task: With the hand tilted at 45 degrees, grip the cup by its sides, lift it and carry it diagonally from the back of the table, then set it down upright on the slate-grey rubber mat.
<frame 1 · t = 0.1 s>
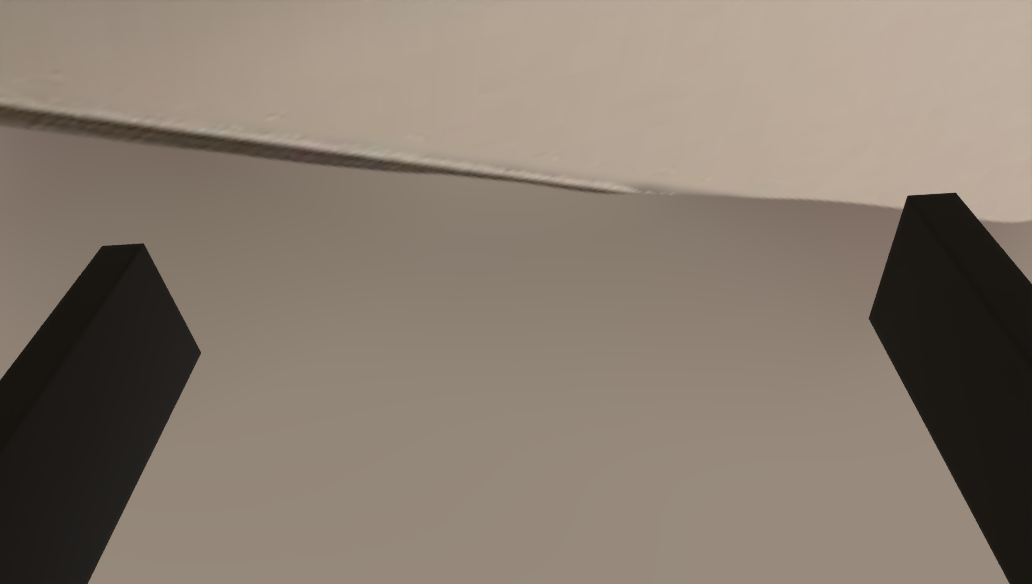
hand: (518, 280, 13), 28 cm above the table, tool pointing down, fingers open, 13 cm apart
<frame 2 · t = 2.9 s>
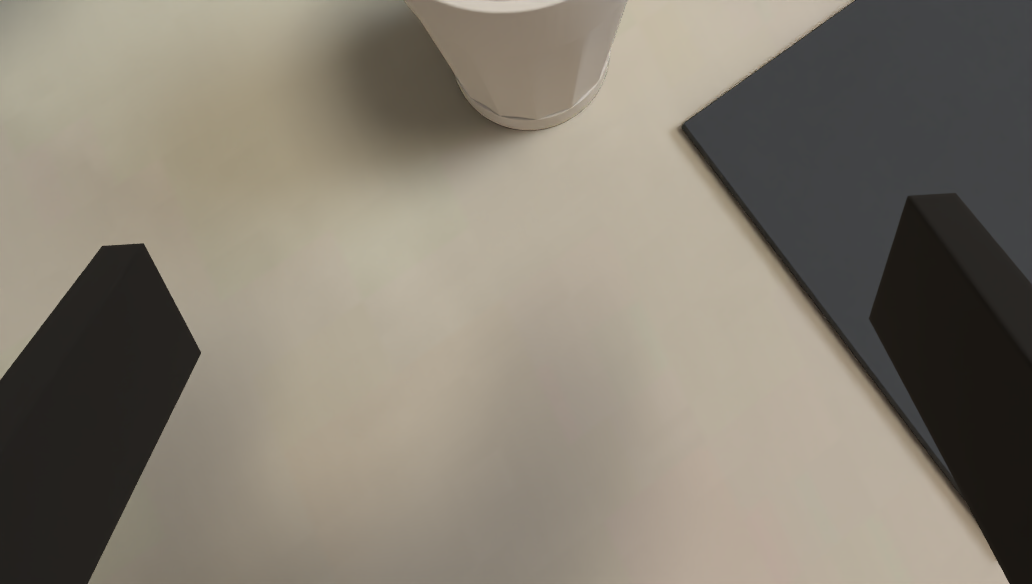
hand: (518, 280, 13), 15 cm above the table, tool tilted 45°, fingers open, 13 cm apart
mat: (1012, 212, 27), on the table
cup: (530, 54, 29), on the table
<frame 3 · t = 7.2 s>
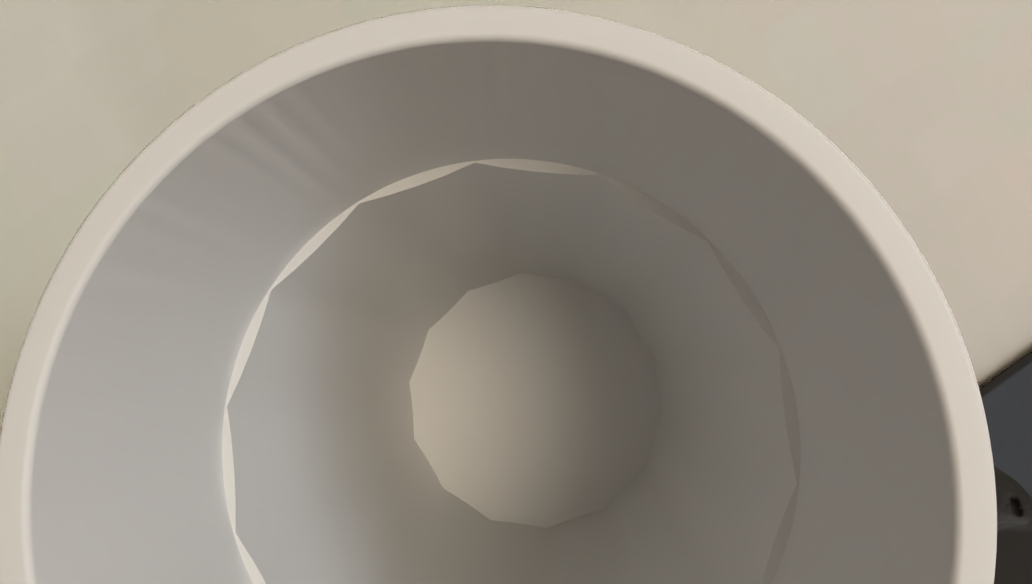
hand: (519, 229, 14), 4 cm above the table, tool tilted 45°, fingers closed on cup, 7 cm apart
cup: (537, 393, 18), on the table, touching gripper
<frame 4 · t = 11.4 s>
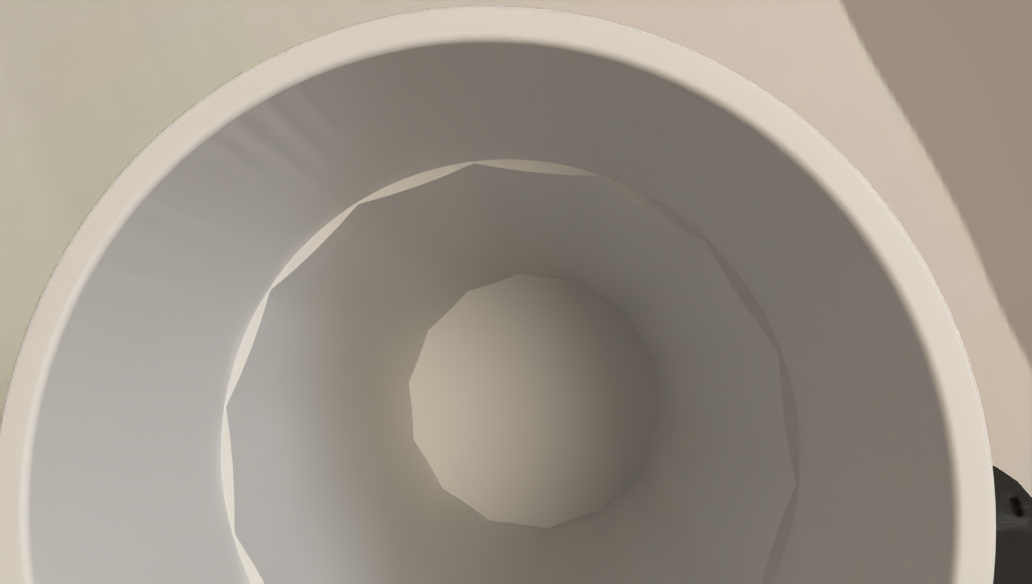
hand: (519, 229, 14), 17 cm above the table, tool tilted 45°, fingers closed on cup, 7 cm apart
cup: (536, 394, 18), point 13 cm above the table, touching gripper
when the fingers open (4 cm above the table, at t = 15.8 s): cup stays where it is, resting on mat.
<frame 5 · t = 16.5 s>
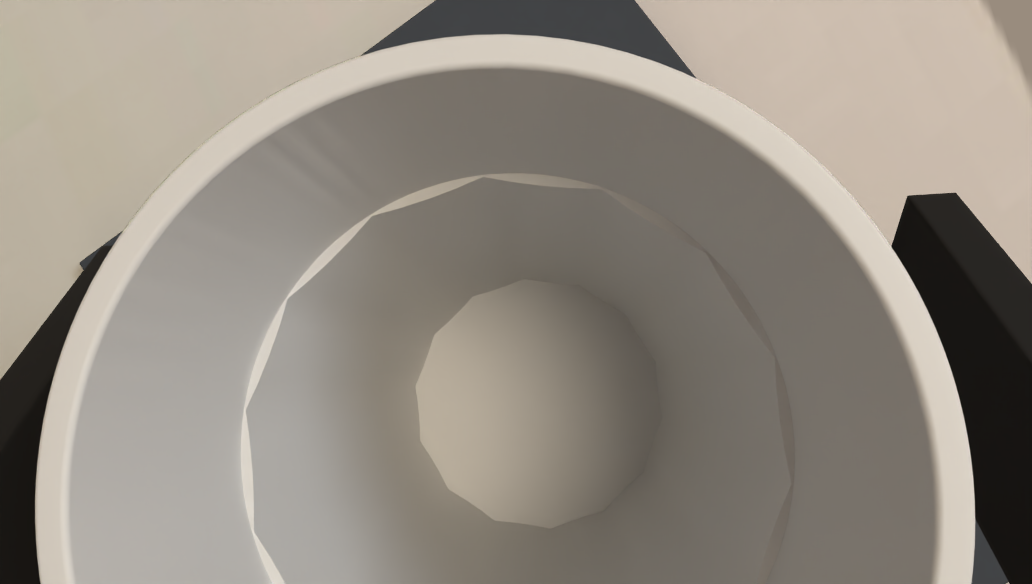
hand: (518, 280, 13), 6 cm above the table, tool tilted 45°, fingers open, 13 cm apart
mat: (539, 392, 18), on the table
cup: (540, 396, 18), resting on mat
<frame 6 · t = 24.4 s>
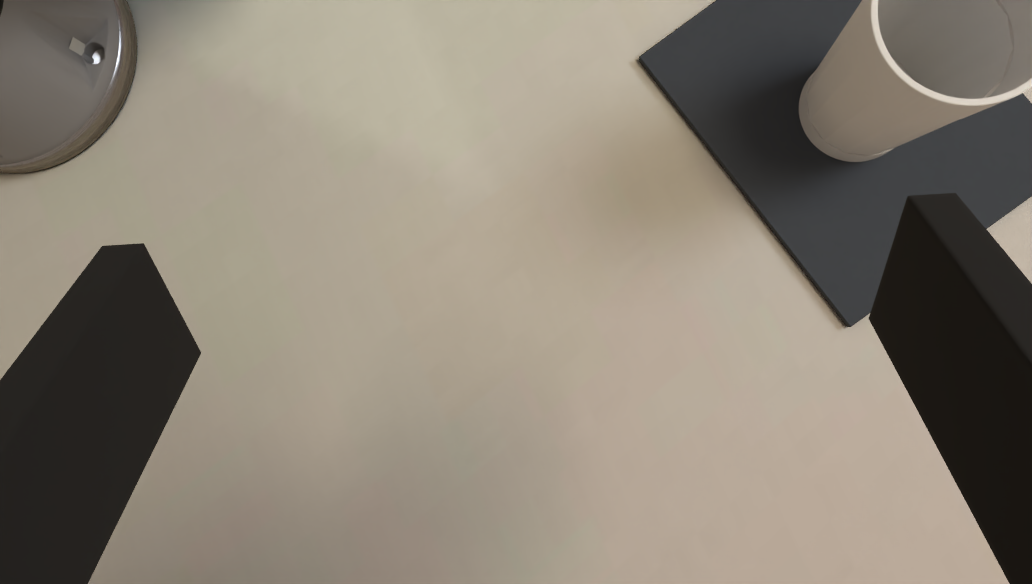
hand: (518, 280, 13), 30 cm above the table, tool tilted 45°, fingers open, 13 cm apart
mat: (850, 110, 42), on the table
cup: (853, 109, 42), resting on mat
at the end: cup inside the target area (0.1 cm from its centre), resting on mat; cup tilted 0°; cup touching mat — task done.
